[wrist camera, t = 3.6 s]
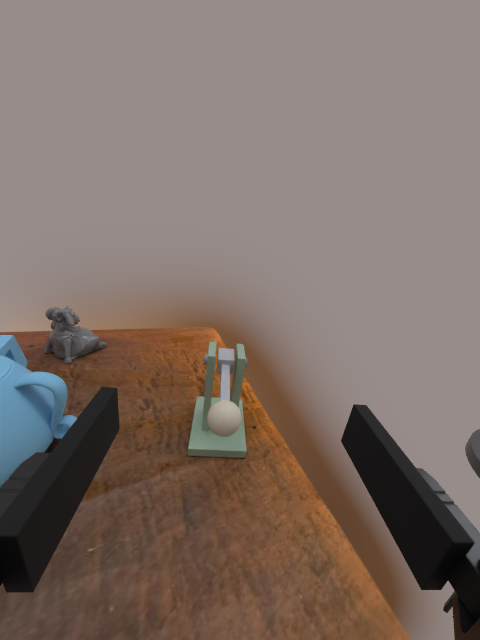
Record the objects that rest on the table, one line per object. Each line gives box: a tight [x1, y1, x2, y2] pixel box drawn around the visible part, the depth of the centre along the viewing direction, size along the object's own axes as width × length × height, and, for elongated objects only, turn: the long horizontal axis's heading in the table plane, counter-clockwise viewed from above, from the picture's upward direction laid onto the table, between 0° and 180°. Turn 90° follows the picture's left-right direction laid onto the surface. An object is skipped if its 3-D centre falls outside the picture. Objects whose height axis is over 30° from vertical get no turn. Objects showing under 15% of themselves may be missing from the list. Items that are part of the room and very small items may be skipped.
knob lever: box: [207, 348, 241, 437], centre depth 30 cm, size 13×4×4 cm, turn 3°
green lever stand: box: [188, 342, 247, 458], centre depth 37 cm, size 11×8×14 cm
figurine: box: [43, 307, 107, 364], centre depth 54 cm, size 8×10×11 cm
